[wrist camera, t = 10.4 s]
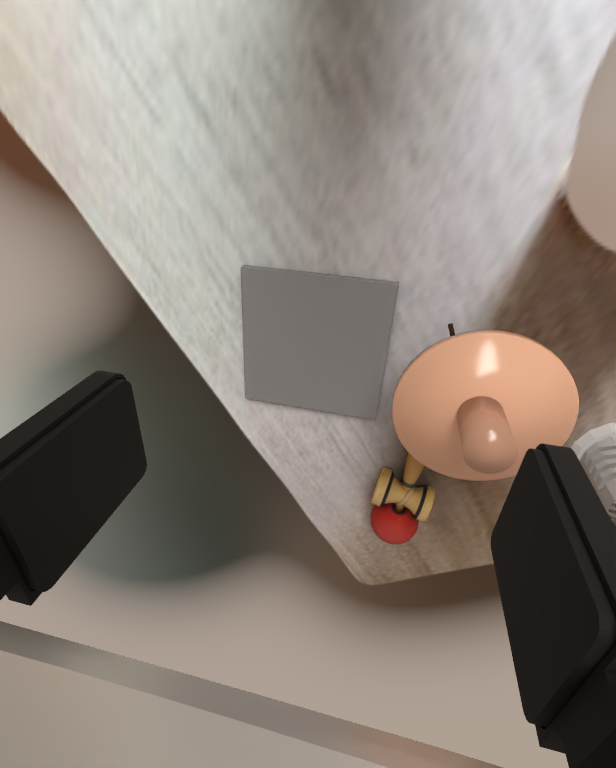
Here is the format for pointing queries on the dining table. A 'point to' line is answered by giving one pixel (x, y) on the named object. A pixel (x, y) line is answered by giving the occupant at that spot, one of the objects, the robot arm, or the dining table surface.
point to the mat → (316, 339)
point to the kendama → (400, 503)
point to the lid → (483, 404)
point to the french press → (600, 462)
